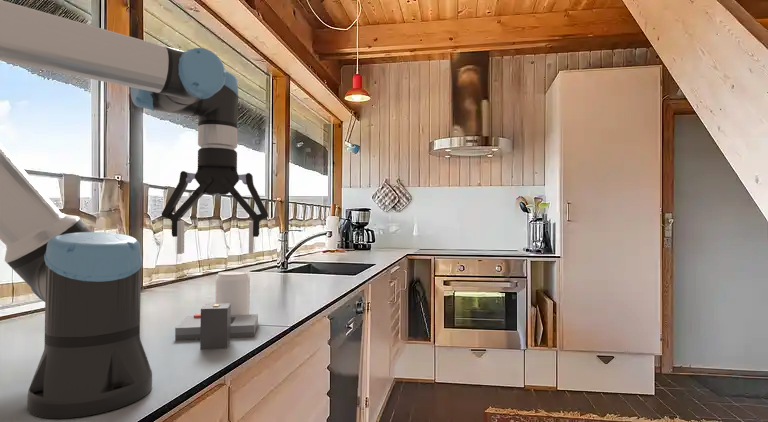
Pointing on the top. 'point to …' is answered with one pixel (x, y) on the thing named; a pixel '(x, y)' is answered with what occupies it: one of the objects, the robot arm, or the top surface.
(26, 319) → the top surface
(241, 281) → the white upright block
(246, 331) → the socket faceplate
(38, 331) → the top surface
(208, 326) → the dark grey upright block
